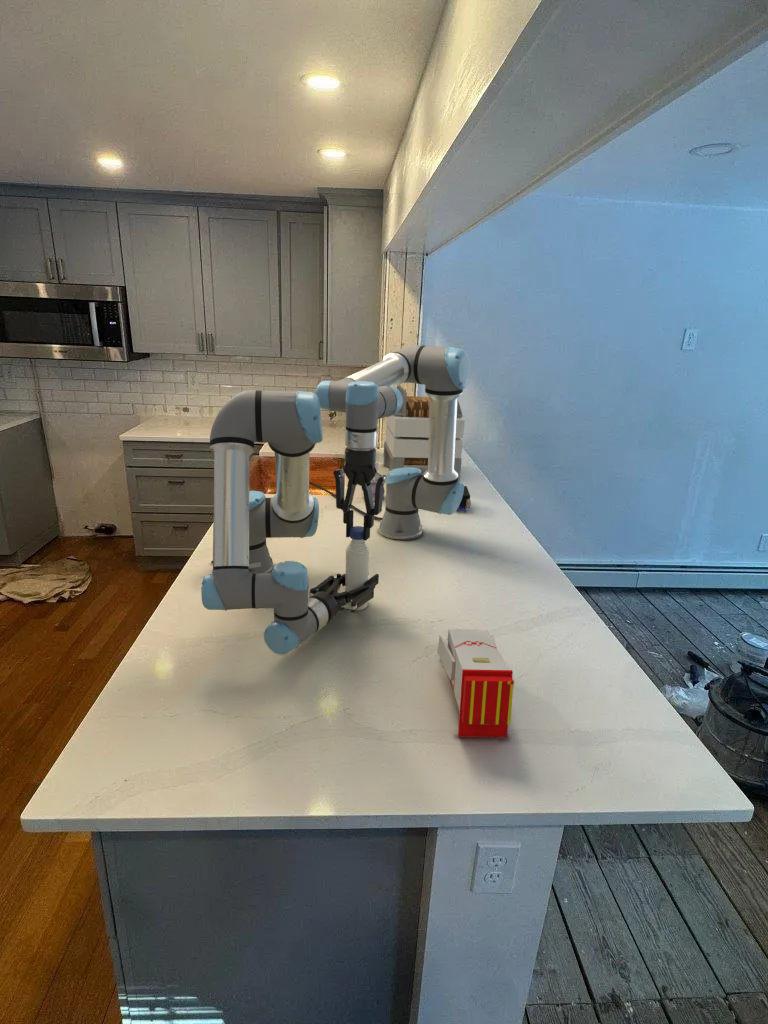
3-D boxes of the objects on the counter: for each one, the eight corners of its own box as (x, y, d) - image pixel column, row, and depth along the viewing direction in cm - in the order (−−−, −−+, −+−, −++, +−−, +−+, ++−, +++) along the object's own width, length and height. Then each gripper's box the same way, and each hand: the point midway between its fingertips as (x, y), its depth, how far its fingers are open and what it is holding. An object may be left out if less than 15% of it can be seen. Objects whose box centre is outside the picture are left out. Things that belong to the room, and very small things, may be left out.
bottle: (348, 611, 148) (349, 536, 141) (342, 600, 153) (343, 528, 146) (369, 608, 150) (372, 534, 142) (363, 598, 155) (366, 526, 148)
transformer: (382, 463, 289) (386, 382, 275) (445, 464, 293) (451, 384, 279) (390, 482, 257) (394, 392, 243) (460, 483, 261) (468, 394, 247)
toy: (488, 613, 130) (523, 677, 101) (484, 667, 133) (517, 744, 104) (435, 612, 130) (455, 676, 101) (432, 666, 133) (451, 743, 103)
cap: (357, 532, 147) (357, 524, 147) (369, 536, 145) (370, 529, 144) (346, 536, 144) (346, 528, 144) (358, 541, 142) (358, 533, 141)
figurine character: (470, 516, 223) (465, 500, 237) (473, 499, 220) (467, 484, 233) (453, 516, 223) (449, 500, 236) (455, 498, 220) (451, 483, 233)
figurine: (369, 503, 229) (370, 467, 224) (358, 496, 237) (359, 461, 232) (389, 500, 233) (391, 465, 228) (378, 493, 242) (380, 459, 236)
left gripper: (285, 614, 140) (337, 579, 159) (350, 637, 131) (396, 597, 150) (284, 587, 137) (337, 554, 156) (351, 608, 129) (398, 571, 148)
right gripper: (321, 446, 136) (321, 536, 144) (388, 455, 131) (383, 548, 139) (335, 440, 143) (334, 526, 151) (399, 448, 137) (394, 537, 145)
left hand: (366, 575), depth 153 cm, fingers closed on bottle, 6 cm apart
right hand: (357, 536), depth 145 cm, fingers closed on cap, 4 cm apart
